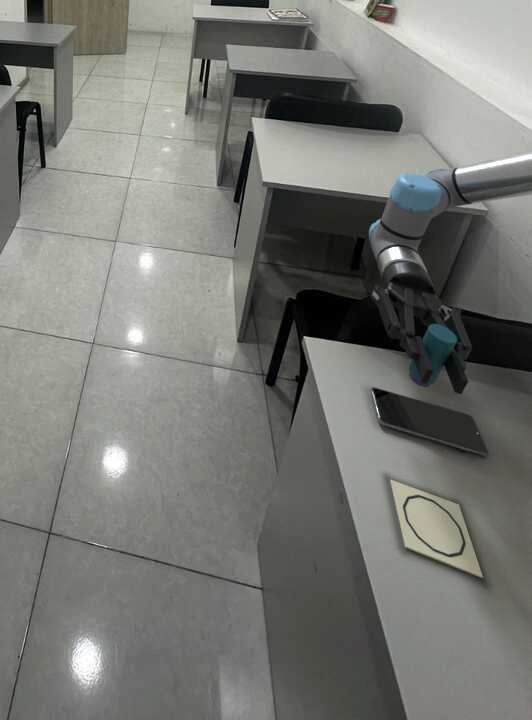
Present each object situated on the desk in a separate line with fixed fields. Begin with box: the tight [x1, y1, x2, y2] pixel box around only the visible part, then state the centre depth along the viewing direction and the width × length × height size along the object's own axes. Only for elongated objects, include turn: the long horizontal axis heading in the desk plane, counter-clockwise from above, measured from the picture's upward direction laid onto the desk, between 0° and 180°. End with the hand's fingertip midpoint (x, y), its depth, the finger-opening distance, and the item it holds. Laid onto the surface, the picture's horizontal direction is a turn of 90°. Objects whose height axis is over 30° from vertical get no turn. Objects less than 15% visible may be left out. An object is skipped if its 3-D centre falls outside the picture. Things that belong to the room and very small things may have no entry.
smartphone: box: [370, 386, 490, 457], centre depth 82 cm, size 7×1×16 cm
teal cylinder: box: [408, 324, 457, 388], centre depth 74 cm, size 4×4×10 cm
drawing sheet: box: [389, 479, 484, 579], centre depth 68 cm, size 9×9×1 cm
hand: (444, 381), depth 69 cm, fingers closed on teal cylinder, 4 cm apart
